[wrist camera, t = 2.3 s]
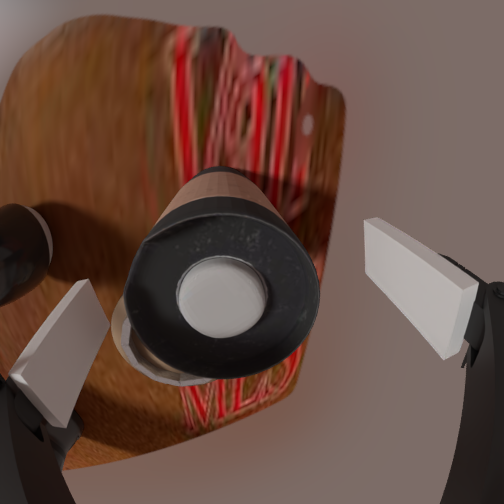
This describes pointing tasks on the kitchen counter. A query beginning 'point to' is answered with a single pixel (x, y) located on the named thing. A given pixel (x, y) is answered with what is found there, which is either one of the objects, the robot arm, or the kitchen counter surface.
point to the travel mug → (221, 281)
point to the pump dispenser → (22, 251)
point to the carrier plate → (145, 353)
